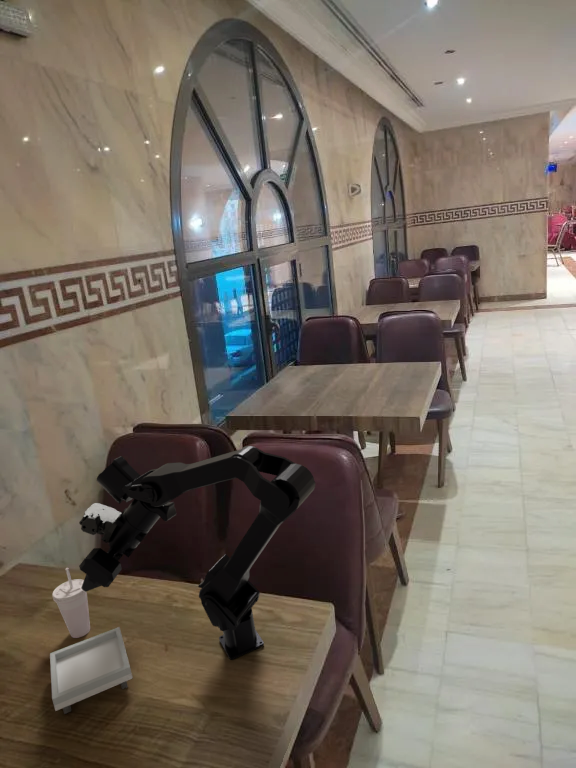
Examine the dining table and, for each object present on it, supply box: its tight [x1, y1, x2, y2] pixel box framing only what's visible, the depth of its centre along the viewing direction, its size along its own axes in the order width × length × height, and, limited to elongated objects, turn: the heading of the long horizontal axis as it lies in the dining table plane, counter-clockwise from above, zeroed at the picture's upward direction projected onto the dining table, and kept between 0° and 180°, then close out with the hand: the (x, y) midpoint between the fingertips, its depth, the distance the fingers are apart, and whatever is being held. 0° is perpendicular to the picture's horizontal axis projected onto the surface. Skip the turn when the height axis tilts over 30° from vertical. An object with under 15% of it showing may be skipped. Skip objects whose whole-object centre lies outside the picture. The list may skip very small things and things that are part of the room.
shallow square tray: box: [49, 626, 133, 715], centre depth 92 cm, size 12×12×4 cm
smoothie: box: [52, 567, 91, 639], centre depth 105 cm, size 6×6×14 cm
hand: (95, 574), depth 103 cm, fingers open, 9 cm apart
